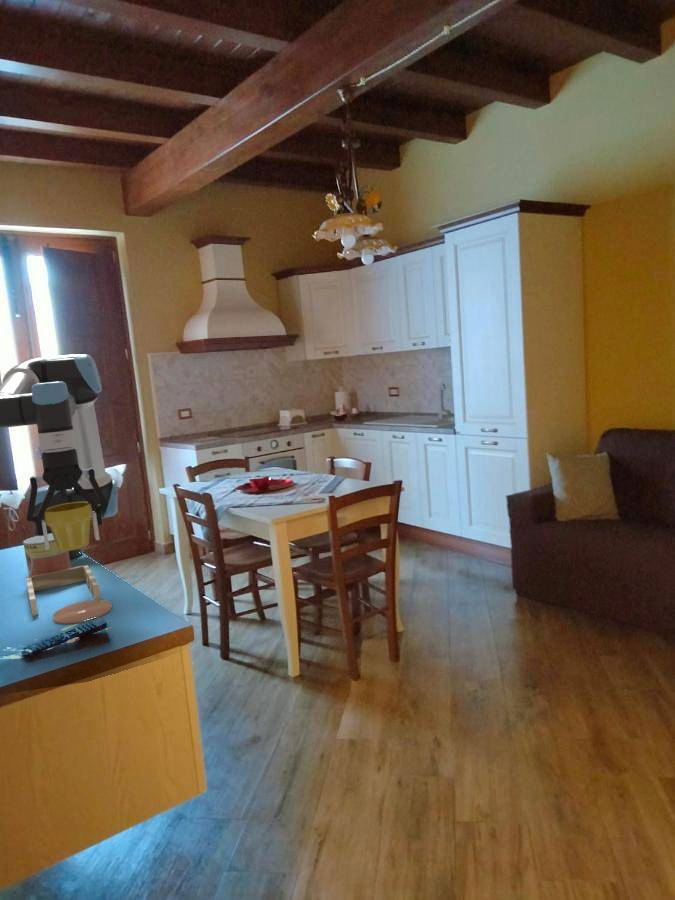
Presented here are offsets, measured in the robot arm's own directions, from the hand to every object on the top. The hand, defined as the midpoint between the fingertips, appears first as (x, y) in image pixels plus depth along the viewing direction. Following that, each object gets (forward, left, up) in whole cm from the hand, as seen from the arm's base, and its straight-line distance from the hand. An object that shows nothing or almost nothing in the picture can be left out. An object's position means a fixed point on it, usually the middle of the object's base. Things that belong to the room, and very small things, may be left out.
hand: (72, 543), depth 153 cm
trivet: (0, 0, -17) cm, 17 cm away
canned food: (-34, -17, -17) cm, 42 cm away
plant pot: (0, 0, -1) cm, 1 cm away
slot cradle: (-16, -9, -17) cm, 25 cm away
